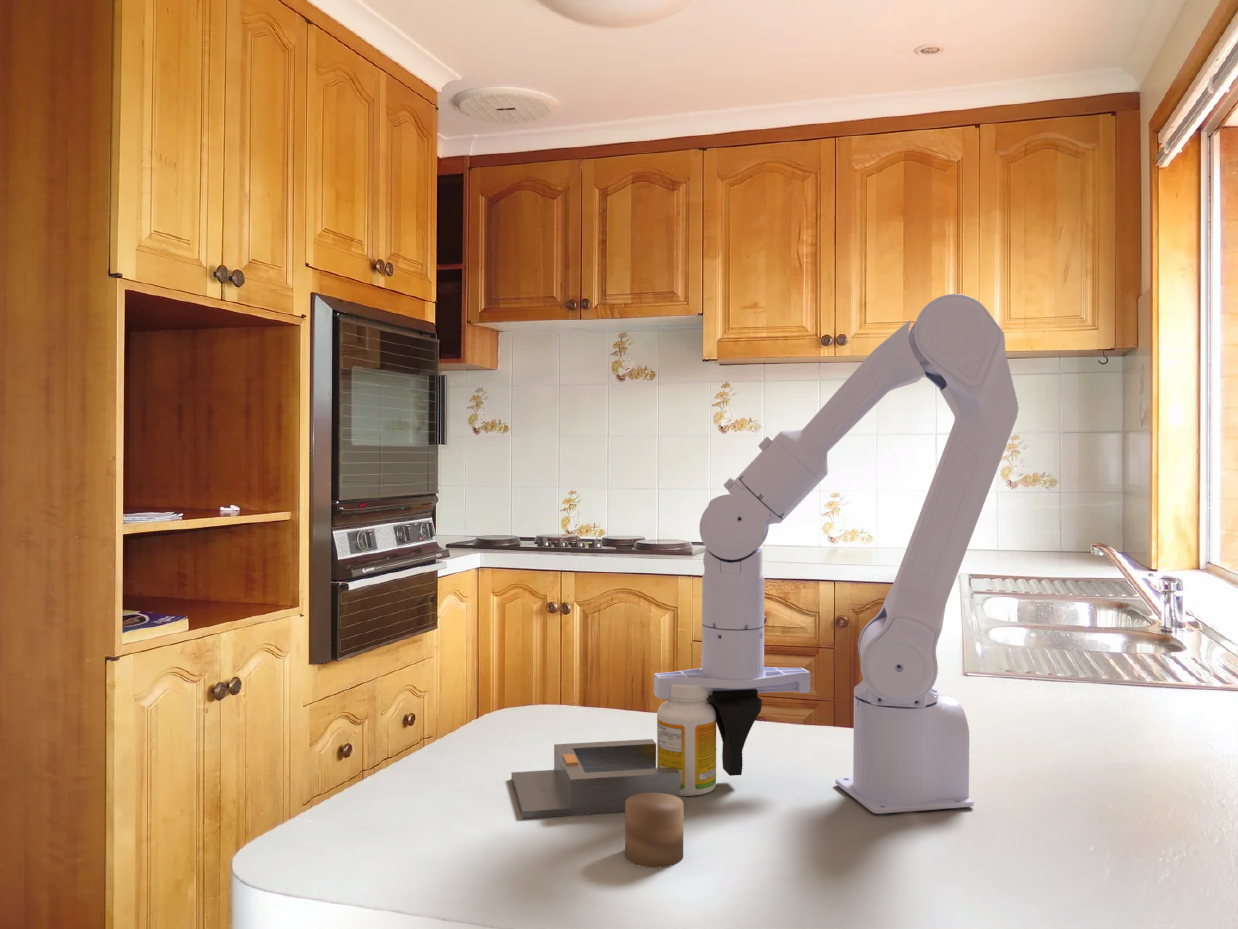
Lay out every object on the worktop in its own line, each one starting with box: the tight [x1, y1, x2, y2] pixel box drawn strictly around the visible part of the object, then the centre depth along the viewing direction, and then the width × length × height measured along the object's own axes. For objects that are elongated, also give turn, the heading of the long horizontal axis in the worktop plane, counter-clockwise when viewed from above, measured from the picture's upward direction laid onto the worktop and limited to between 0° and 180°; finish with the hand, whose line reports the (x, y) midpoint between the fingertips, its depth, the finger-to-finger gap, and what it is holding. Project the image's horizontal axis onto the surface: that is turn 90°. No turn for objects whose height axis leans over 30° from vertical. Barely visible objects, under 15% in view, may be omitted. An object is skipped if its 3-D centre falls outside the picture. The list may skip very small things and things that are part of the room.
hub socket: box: [511, 738, 681, 819], centre depth 86 cm, size 14×10×3 cm
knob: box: [624, 793, 685, 869], centre depth 72 cm, size 4×4×4 cm
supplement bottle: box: [656, 685, 717, 797], centre depth 87 cm, size 5×5×10 cm
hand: (731, 772), depth 88 cm, fingers closed
